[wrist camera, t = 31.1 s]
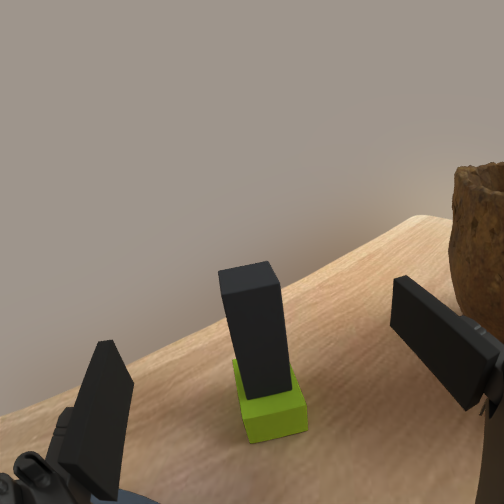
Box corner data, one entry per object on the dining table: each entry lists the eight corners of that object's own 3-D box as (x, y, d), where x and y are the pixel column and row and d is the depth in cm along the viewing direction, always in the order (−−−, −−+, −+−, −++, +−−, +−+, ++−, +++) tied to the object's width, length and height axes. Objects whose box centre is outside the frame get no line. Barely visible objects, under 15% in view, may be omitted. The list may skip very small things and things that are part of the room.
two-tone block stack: (308, 430, 18) (298, 294, 14) (250, 444, 18) (212, 312, 14) (287, 375, 24) (271, 249, 20) (239, 386, 23) (208, 262, 19)
